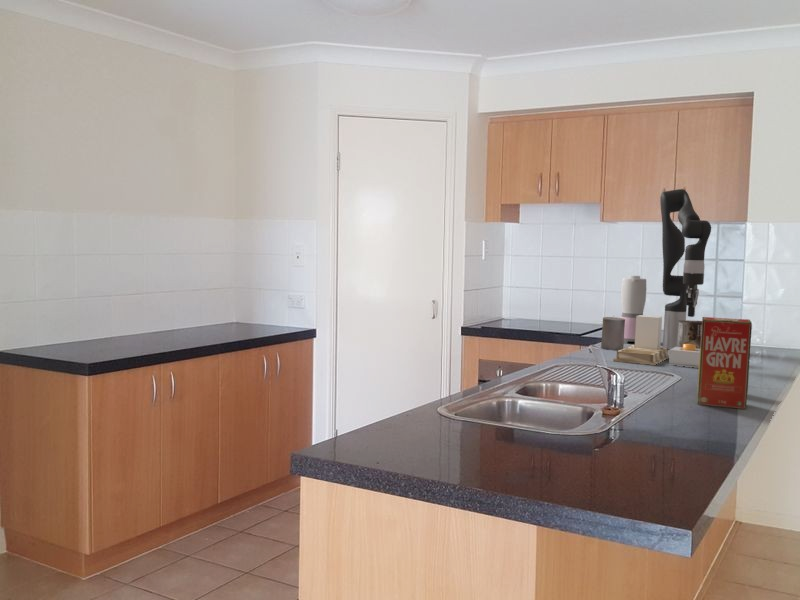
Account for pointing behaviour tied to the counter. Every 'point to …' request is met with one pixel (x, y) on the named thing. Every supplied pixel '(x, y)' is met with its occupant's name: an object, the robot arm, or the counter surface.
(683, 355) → the console
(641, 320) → the carton
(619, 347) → the pillar candle
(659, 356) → the pallet
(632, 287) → the blender
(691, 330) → the coffee box
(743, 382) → the food packaging
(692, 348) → the button
